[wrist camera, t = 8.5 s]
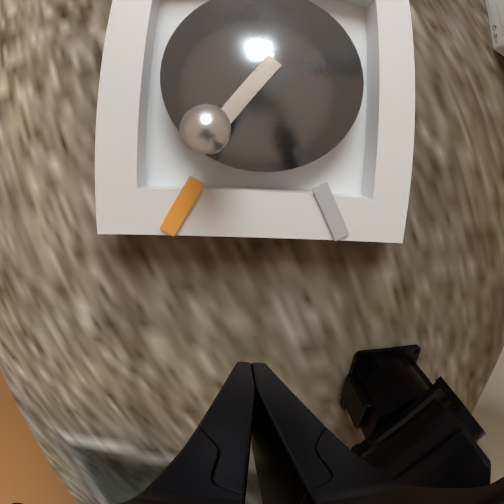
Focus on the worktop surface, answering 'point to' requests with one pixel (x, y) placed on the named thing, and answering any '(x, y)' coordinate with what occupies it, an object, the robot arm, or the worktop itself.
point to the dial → (261, 83)
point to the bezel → (242, 181)
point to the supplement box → (496, 23)
